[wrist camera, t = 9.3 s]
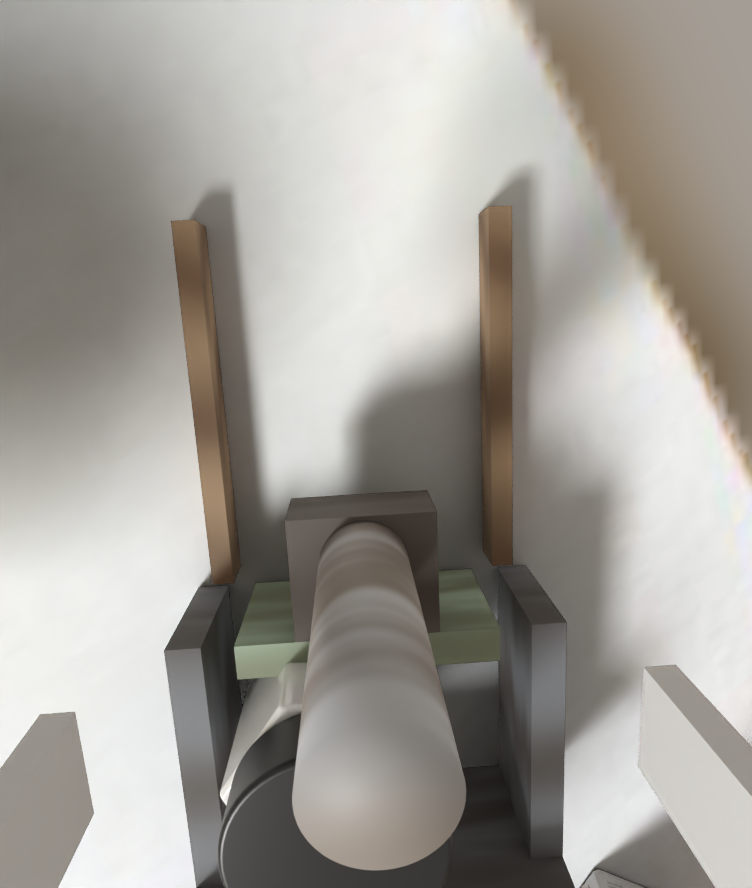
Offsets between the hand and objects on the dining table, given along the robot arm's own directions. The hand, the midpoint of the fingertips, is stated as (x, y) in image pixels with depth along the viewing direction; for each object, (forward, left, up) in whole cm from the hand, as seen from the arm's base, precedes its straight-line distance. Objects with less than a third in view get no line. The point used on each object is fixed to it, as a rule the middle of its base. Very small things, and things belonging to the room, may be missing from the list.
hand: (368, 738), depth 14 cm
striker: (+2, 0, -16) cm, 16 cm away
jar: (+8, -1, -17) cm, 19 cm away
